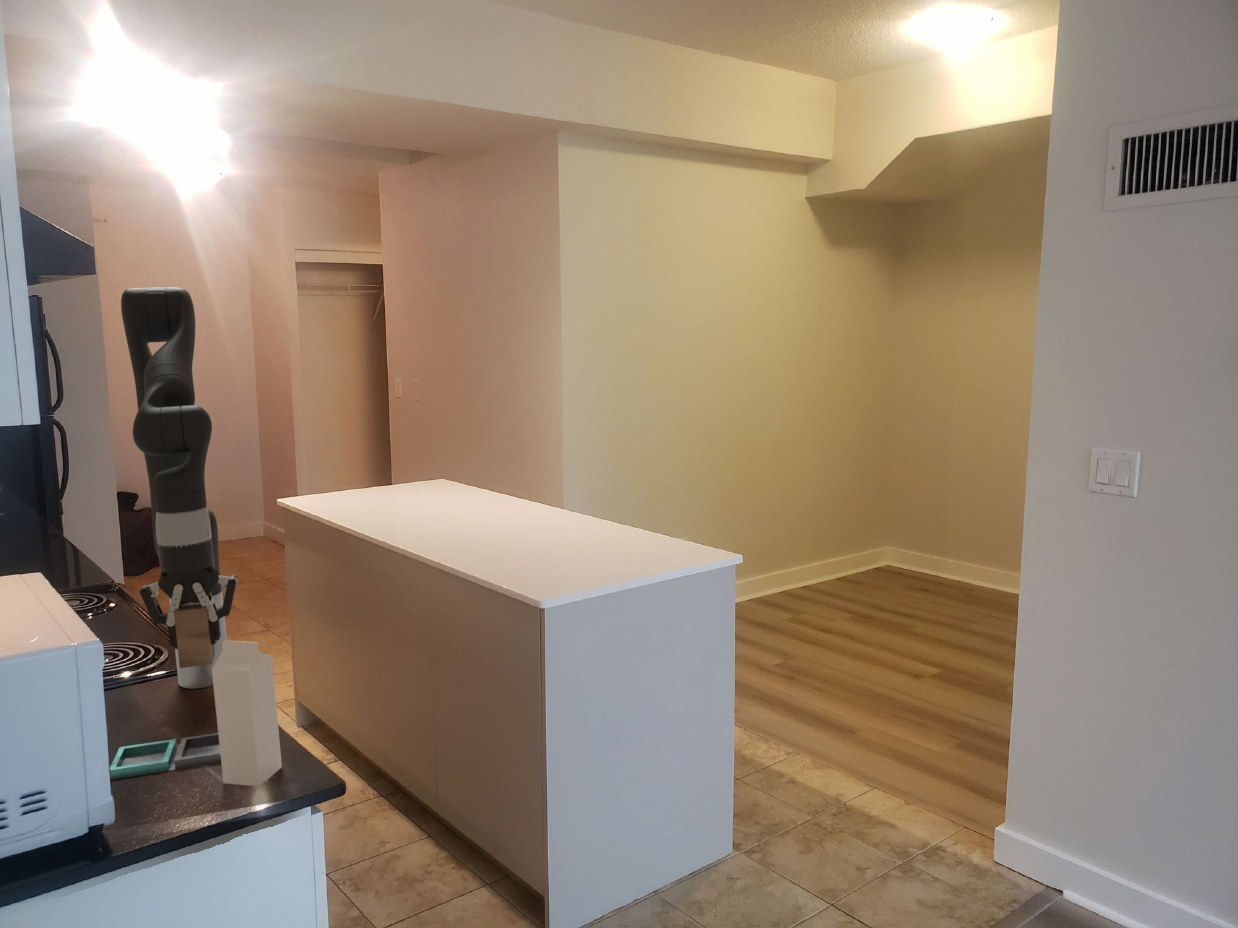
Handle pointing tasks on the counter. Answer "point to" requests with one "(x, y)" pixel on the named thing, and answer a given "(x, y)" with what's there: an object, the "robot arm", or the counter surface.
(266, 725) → the milk
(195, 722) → the counter surface
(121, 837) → the counter surface
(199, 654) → the walnut block
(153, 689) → the counter surface
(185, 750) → the trays
